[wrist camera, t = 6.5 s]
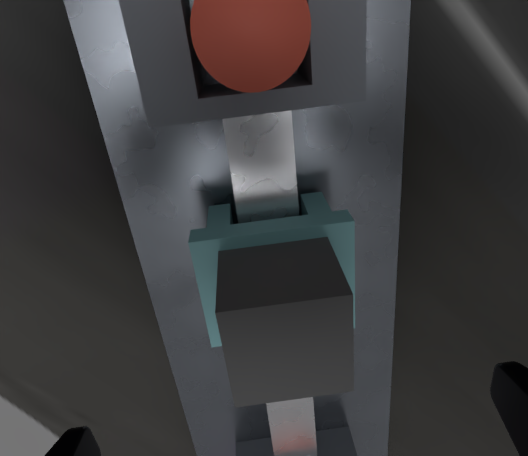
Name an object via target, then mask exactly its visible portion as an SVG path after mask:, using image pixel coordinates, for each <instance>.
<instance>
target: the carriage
mask: <svg viewBox="0 0 528 456" xmlns="http://www.w3.org/2000/svg"><path fill="white" fill-rule="evenodd" d="M300 196H301V210H302V215H301V216H293V217H285V218H277V219H270V220H262V221H254V222H247V223H239V224H233V219H232V213H231V207H230V203H229V204H222V205H214V206H209V209H208V218H207V227H206V228H201V229H193V230H190V236H189V241H188V244H189V249H190V253H191V258H192V262H193V267H194V271H195V275H196V280H197V284H198V289H199V293H200V298H201V302H202V307H203V311H204V316H205V320H206V325H207V329H208V334H209V338H210V343H211V347H218V346H222V348H223V353H224V358H225V363H226V368H227V372H228V377H229V382H230V387H231V392H232V397H233V401H234V406H235V408H236V407H243V406H250V405H258V404H265V403H272V402H279V401H287V400H294V399H301V398H308V397H316V396H323V395H330V394H338V393H345V392H352V391H354V328H355V221H354V219H353V218H352V216H351V214H350V213H349V211H348V209H347V210H339V211H331V209H330V207H329V205H328V203H327V201H326V199H325V197H324V196H323V194H322V192H314V193H307V194H300Z"/></svg>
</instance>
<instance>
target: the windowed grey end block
mask: <svg viewBox="0 0 528 456" xmlns="http://www.w3.org/2000/svg"><path fill="white" fill-rule="evenodd" d="M307 3H308V6H309V11H310V17H311V35H310V42H309V46H308V49H307V52H306V54H305V57H304V59H303V61H302V63H301V64H300V66H299V67H298V73H296V74H292V76H291V77H289V78H288V79H287V80H286V81H285V82H283V83H282V84H280V85H278V86H276V87H274V88H272V89H269V90H267V91H262V92H254V93H249V92H241V91H236V90H233V89H231V88H228V87H226V86H224V85H223V84H221V83H216V84H208V85H204V84H203V79H202V73H201V67H200V61H199V58H198V56H197V54H196V52H195V49H194V46H193V42H192V38H191V30H190V18H191V7H190V1H189V0H119V5H120V9H121V13H122V17H123V21H124V26H125V30H126V34H127V38H128V42H129V46H130V51H131V55H132V59H133V63H134V67H135V72H136V76H137V80H138V84H139V88H140V93H141V97H142V101H143V105H144V109H145V113H146V118H147V122H148V126H149V128H155V127H163V126H171V125H179V124H187V123H195V122H203V121H210V120H218V119H226V118H234V117H242V116H250V115H258V114H266V113H274V112H282V111H290V110H298V109H306V108H314V107H322V106H330V105H337V104H345V103H353V102H361V101H366V29H367V0H307ZM316 443H317V456H357V452H356V449H355V446H354V442H353V439H352V435H351V432H350V428H349V427H342V428H334V429H327V430H320V431H316ZM236 456H274V452H273V445H272V439H271V437H270V438H262V439H255V440H248V441H241V442H236Z"/></svg>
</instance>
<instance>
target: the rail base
mask: <svg viewBox="0 0 528 456" xmlns="http://www.w3.org/2000/svg"><path fill="white" fill-rule="evenodd" d="M63 1H64V4H65V8H66V11H67V15H68V18H69V21H70V25H71V28H72V32H73V35H74V38H75V42H76V45H77V49H78V52H79V55H80V59H81V62H82V66H83V69H84V72H85V76H86V79H87V83H88V86H89V89H90V93H91V96H92V100H93V103H94V106H95V110H96V113H97V117H98V120H99V124H100V127H101V130H102V134H103V137H104V141H105V144H106V147H107V151H108V154H109V158H110V161H111V164H112V168H113V171H114V175H115V178H116V181H117V185H118V188H119V192H120V195H121V198H122V202H123V205H124V209H125V212H126V215H127V219H128V222H129V226H130V229H131V232H132V236H133V239H134V243H135V246H136V249H137V253H138V256H139V260H140V263H141V266H142V270H143V273H144V277H145V280H146V284H147V287H148V290H149V294H150V297H151V301H152V304H153V307H154V311H155V314H156V318H157V321H158V324H159V328H160V331H161V335H162V338H163V341H164V345H165V348H166V352H167V355H168V358H169V362H170V365H171V369H172V372H173V375H174V379H175V382H176V386H177V389H178V392H179V396H180V399H181V403H182V406H183V409H184V413H185V416H186V420H187V423H188V426H189V430H190V433H191V437H192V440H193V444H194V447H195V450H196V454H197V456H236V442H241V441H248V440H255V439H262V438H270V437H271V439H272V445H273V452H274V456H317V443H316V431H320V430H327V429H334V428H342V427H349V428H350V432H351V435H352V439H353V442H354V446H355V449H356V452H357V456H387V454H388V435H389V415H390V396H391V376H392V357H393V337H394V318H395V299H396V279H397V260H398V240H399V221H400V201H401V182H402V162H403V143H404V124H405V104H406V85H407V65H408V46H409V26H410V7H411V0H367V29H366V101H361V102H353V103H345V104H337V105H330V106H322V107H314V108H306V109H298V110H290V111H282V112H274V113H266V114H258V115H250V116H242V117H234V118H226V119H218V120H210V121H203V122H195V123H187V124H179V125H171V126H163V127H155V128H149V126H148V122H147V118H146V113H145V109H144V105H143V101H142V97H141V93H140V88H139V84H138V80H137V76H136V72H135V67H134V63H133V59H132V55H131V51H130V46H129V42H128V38H127V34H126V30H125V26H124V21H123V17H122V13H121V9H120V5H119V0H63ZM189 1H190V7H191V10H192V6H193V3H194V0H189ZM199 61H200V60H199ZM200 67H201V73H202V79H203V84H204V85H208V84H216V83H220V82H218V81H217V80H215V79H214V78H213V77H212V76H211V75H210V74H209V73H208V72H207V70H206V69H205V68H204V67H203V65H202V64H201V62H200ZM296 73H298V69H297V70H296V71H295V72H294V73H293V74H296ZM314 192H322V194H323V196H324V197H325V199H326V201H327V203H328V205H329V207H330V209H331V211H339V210H347V209H348V211H349V213H350V214H351V216H352V218H353V219H354V221H355V328H354V391H352V392H345V393H338V394H330V395H323V396H316V397H308V398H301V399H294V400H287V401H279V402H272V403H265V404H258V405H250V406H243V407H236V408H235V406H234V401H233V397H232V392H231V387H230V382H229V377H228V372H227V368H226V363H225V358H224V353H223V348H222V346H218V347H211V343H210V338H209V334H208V329H207V325H206V320H205V316H204V311H203V307H202V302H201V298H200V293H199V289H198V284H197V280H196V275H195V271H194V267H193V262H192V258H191V253H190V249H189V244H188V241H189V236H190V230H193V229H201V228H206V227H207V218H208V209H209V206H214V205H222V204H229V203H230V207H231V213H232V219H233V224H239V223H247V222H254V221H262V220H270V219H277V218H285V217H293V216H301V215H302V210H301V196H300V194H307V193H314Z"/></svg>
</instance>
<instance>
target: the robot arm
mask: <svg viewBox="0 0 528 456" xmlns="http://www.w3.org/2000/svg"><path fill="white" fill-rule="evenodd" d="M490 392H491V397H492V400H493V402H494V404H495V406H496V408H497V410H498V412H499V414H500V416H501V418H502V420H503V422H504V424H505V427H506V429H507V431H508V433H509V435H510V437H511V439H512V441H513V443H514V445H515V447H516V449H517V451H518V453H519V455H520V456H528V368H527V367H525V366H523V365H522V364H520V363H518V362H514V361H511V362H504V363H498V364H497V365H496V366H495V368H494V372H493V378H492V383H491V388H490ZM45 456H101V452H100V449H99V446H98V444H97V442H96V440H95V438H94V436H93V434H92V432H91V430H90V428H88V427H87V426H83V427H76V428H71V429H68V430H67V431H66V432H65V433H64V434H63V435H62V436H61V437H60V438H59V440H58V441H57V442H56V443H55V444H54V445H53V447H52V448H51V449H50V450H49V451H48V452H47V453H46V455H45Z"/></svg>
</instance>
